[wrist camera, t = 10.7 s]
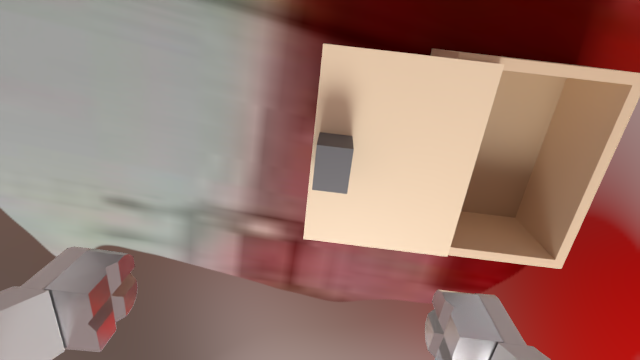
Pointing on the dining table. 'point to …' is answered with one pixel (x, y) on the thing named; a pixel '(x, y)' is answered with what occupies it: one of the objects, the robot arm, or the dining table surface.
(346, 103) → the carton lid
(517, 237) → the carton
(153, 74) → the dining table surface
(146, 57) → the dining table surface
